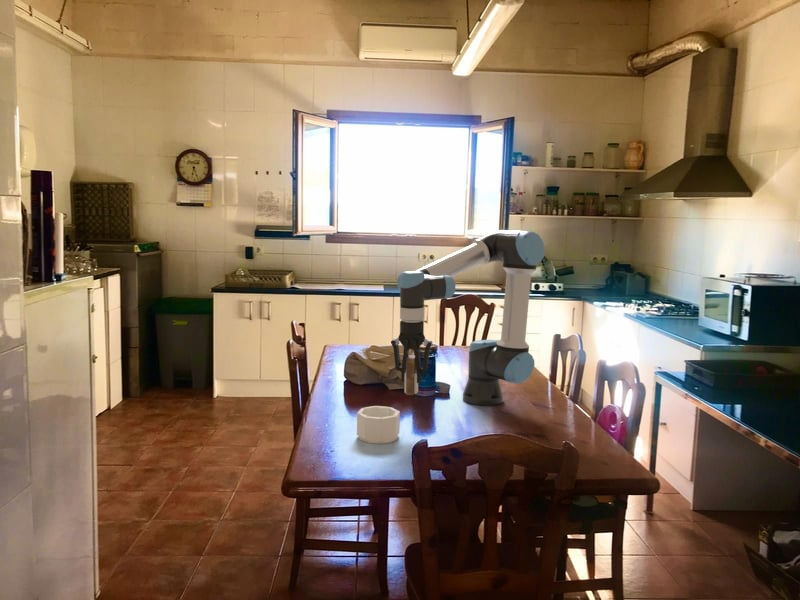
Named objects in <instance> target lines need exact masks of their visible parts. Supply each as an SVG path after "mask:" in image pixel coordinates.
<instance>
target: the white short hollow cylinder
mask: <svg viewBox="0 0 800 600" xmlns="http://www.w3.org/2000/svg"><path fill="white" fill-rule="evenodd" d="M400 416H401V411H400V410H398V409H395V408H394V407H391V406H384V405H383V406H382V405H372V406H366V407H361V408H360V409H359V411H357V412H356V436H357V437H358V439H359V440H360V441H361V442H364V443H367V444H373V445H383V444H385V445H386V444H391V443H394V442H395V441H397V440H398V438H399V434H400V425H401V424H400V423H401V420H400V419H401V417H400Z"/></svg>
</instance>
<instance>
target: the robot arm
mask: <svg viewBox="0 0 800 600" xmlns="http://www.w3.org/2000/svg"><path fill="white" fill-rule="evenodd" d="M545 247H546V246H545V244H544V241H543V238H542V237H541V236H540V235H539V233H536V232H534V231H531V230H530V231H529V230H518V229H517V230H513V229H498V230H495V231H492V232H490V233H488V234H485V235H483V236H480V237H477V238H476V239H473V241H472V242H471V244H470V245H468V246H466V247H464V248H462V249H459V250H458V251H454V252H453V253H450V254H448V255H446V256H444V257H442V258H439V259H438V260H435V261H433V262H431V263H429V264H427V265H425V266H423V267H420V268H418V269H416V270H407V271H403V272H401V273H399V275H398V277H397V280H396V284H397V285H396V286H397V288H398V290H399V300H400V301H399V319H400V321H399V335H398V337H397V338H393V339H392V340H391V341H390V343H391V346H392V348H393V357H394V365H395V370H396V371H399V372H400V373H401V376H400V377H401V378H400V379H401V382H402V383H404V385H403V386H404V391H403V392H404V394H406V358H407V357H408V356H409V353H410V350H413V353H414V354H413V355H415V362H416V371H417V372H415V374H414V395H416V394H417V393H419V384H421V382H422V373H426V371H427V370H428V365H429V357H430V351H431V347H432V345H433V341H432V340H428V339H426V337H425V335H424V333H425V332H424V330H425V329H424V328H425V327H424V325H425V323H424V319H425V311H424V310H425V301H432V300H434V301H435V300H445V299H449V298H452V297H453V296H454V295H455V292H456V281H455V279H454V278H453V277H455V276H457V275H459V274H461V273H464V272H466V271H468V270H470V269H471V268H474V267H476V266H478V265H488V264H489V263H493V262H502V269H503V270H504V271H505V273H506V277H505V289H504V298H503V299H504V300H503V312H502V323H501V334H500V335H501V336H500V339H479V340H474V341H472V342H470V344H469V350H468V376H467V377H468V378H467V382H466V385H465V387H464V390H463V393H462V400H463V402H465V403H468V404H470V405H475V406H476V405H477V406H483V407H484V406H497V405H501V404H503V402H504V394H503V391H502V387H501V383H500V380H502V381H505V382H507V383H509V384H511V383H512V384H523V383H525V382H526V381H527V380H528V379H529V378H530V377H531V375H532V374H533V372H534V369H535V358H534V357H533V355H532V354H531V353H529V350H530V345H529V344H528V343H527V342H526V336H527V326H528V312H529V304H530V303H529V302H530V291H531V289H530V288H531V281H532V280H531V279H532V274H533V273H535V271H537V265H540V264H541V262H542V260H543V259H544V257H545V251H546V249H545ZM423 343H424V345H423ZM400 344H401V345H402V347H403V354H402V362H401V356H400V355H401V354H400ZM422 345H423V346H424V347H425V348H424V353H423V359H422V358H421V349H420V347H421V346H422ZM421 359H422V360H423V362H422V361H421Z"/></svg>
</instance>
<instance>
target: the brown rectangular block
mask: <svg viewBox="0 0 800 600" xmlns="http://www.w3.org/2000/svg"><path fill="white" fill-rule="evenodd" d="M415 372H417V371H416V362H415V354H408V357H407V358H406V393H405V395H406V396H414V395H415V394H414V374H415Z"/></svg>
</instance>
